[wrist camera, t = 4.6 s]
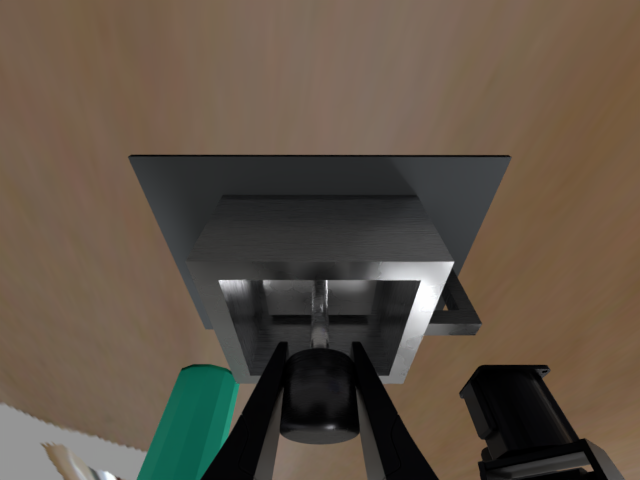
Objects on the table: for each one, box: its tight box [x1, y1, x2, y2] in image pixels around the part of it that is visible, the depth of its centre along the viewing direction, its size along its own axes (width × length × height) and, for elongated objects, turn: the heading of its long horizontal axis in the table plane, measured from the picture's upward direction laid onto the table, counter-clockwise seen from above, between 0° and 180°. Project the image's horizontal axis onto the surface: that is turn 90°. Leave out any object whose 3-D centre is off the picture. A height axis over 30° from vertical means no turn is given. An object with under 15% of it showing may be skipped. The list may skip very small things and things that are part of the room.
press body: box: [185, 195, 482, 384], centre depth 15 cm, size 13×10×5 cm
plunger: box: [263, 280, 377, 445], centre depth 13 cm, size 7×7×8 cm
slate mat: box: [128, 155, 512, 329], centre depth 17 cm, size 18×14×1 cm
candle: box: [136, 364, 240, 480], centre depth 23 cm, size 6×6×12 cm
